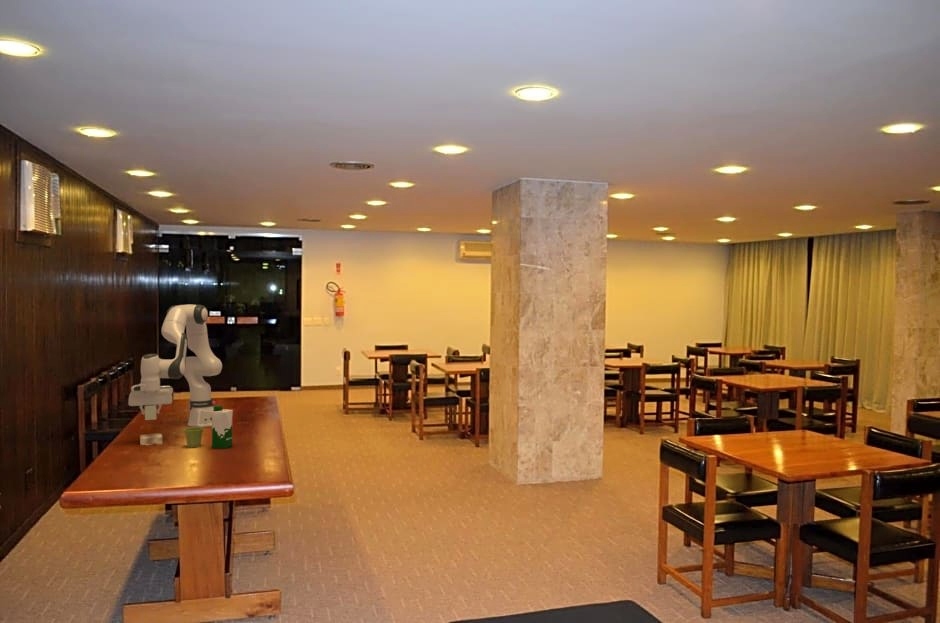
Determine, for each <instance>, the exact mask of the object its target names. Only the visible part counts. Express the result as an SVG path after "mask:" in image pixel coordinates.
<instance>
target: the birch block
mask: <svg viewBox="0 0 940 623" xmlns="http://www.w3.org/2000/svg"><path fill="white" fill-rule="evenodd" d="M163 439H164V438H163V434H162V432H161V433H148V434H140V435H139V443H140V444H139V445H140V446H141V445H146V446H154V445H153V444H157V445H163V441H164V440H163Z"/></svg>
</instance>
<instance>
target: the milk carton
mask: <svg viewBox="0 0 940 623" xmlns="http://www.w3.org/2000/svg"><path fill="white" fill-rule="evenodd" d="M233 413H234V409H228V408H227V409H224V408H223V405H214V410H213V411H211V417H212V426H211V449H220V450H221V449H224V450H225V449H228V448H230V446H231V447H233Z"/></svg>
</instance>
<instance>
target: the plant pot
mask: <svg viewBox="0 0 940 623" xmlns="http://www.w3.org/2000/svg"><path fill="white" fill-rule="evenodd" d="M204 428H205V427H195V426H192V427H187V428H184V429H183V432H184V435H185V440H186V445H187V447H188V448H199V447H200V446H201V444H202V435H203V431H204Z"/></svg>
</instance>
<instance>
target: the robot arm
mask: <svg viewBox="0 0 940 623" xmlns="http://www.w3.org/2000/svg"><path fill="white" fill-rule="evenodd" d="M208 311H209V310H208V308H207V307H206V306H205V305H202V304H179V305H177V304H175V305H172V306H170V307H169V308H168V309H167V311H166V316H165V318H164V320H163V323H162V326H161V330H160V331H161V335H162V336H163V338H164V339H166V340H167V341H168V342H170V343H172V344H175V345H176V350H175V357H174V358H173V359H164V358H160V357H159V355H158V354H156V353H147V354H144V355H143V356H142V358H141V360H140V376H141V377H140V378H141V379H140V383H138V384H134V385H133V386H131V387H130V393H129V395H128V400H127V401H128V406H129V407H136V406H137V407H139V409H140V411H141V414H142V415H145V409H144V408H143V406H145V405H156V406H157V405H158V408H157V409H156V415H157V414H158V415H159V414H160V410H161V408H162V406H163V405H171V404H172V403H173V395H172V394H173V392H174V388H173V386H170V385H161V379H171V380H172V379H173V380H179V379H181V378H182V377H183V376H184V378H185V379H186V381H187V383H188V386H189V395H190V397H189V399H190V400H189V403H188V406H189V407H188V408H189V418H188V421H187V426H188V427H202V428H205V427H206V428H207V427H212V417H211V411H213V410H214V406H216V405H215V404H216V403H217V402H216V401H215V400H214V399H212V394H211V393H212V387H211V385H210V384H209V383H208V382H206V380H204V377H212V376H217V375H219V374H221V372H222V369H223V363H222V361H221V359H220V358H218V357H217V356H216V355H215V354H214V353H213V351H212V349H211V346H210V342H209V337H208V336H209V334H208V327H207V322H206V321H207V319H208V317H209V312H208ZM185 330H186V333H185ZM188 349H189V350H190V351H191V352H193V353H194V354H195V356H187V353H188V351H187V350H188Z"/></svg>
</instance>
